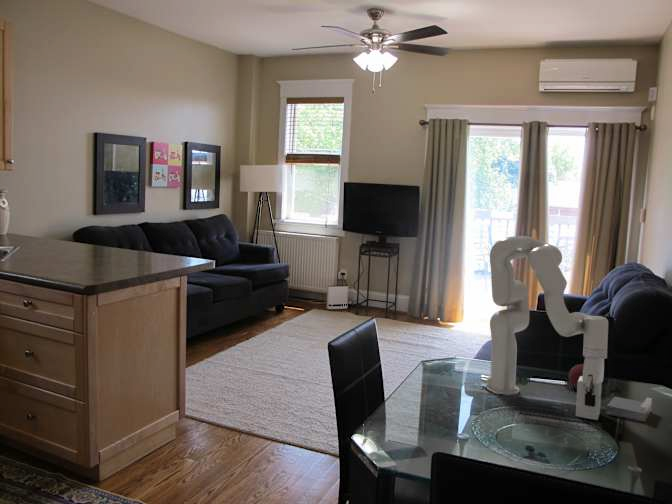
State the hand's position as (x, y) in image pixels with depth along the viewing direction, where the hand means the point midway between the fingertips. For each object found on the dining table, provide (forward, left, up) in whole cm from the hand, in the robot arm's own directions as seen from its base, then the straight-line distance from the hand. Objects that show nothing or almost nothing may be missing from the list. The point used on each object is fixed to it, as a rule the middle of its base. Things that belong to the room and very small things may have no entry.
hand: (593, 402), depth 205 cm
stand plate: (+9, +11, -5) cm, 15 cm away
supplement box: (-1, 0, -5) cm, 5 cm away
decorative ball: (-11, +27, -5) cm, 30 cm away
